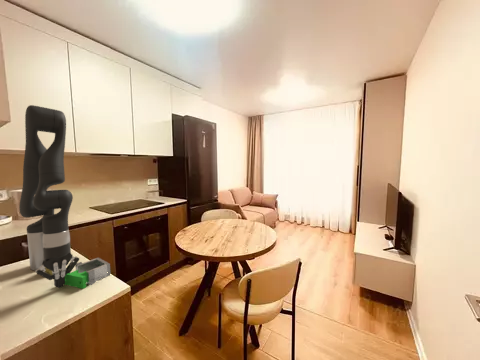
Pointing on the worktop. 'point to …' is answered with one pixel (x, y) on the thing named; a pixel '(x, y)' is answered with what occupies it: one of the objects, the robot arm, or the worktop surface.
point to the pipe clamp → (76, 279)
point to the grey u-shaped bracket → (94, 269)
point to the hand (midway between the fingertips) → (59, 286)
